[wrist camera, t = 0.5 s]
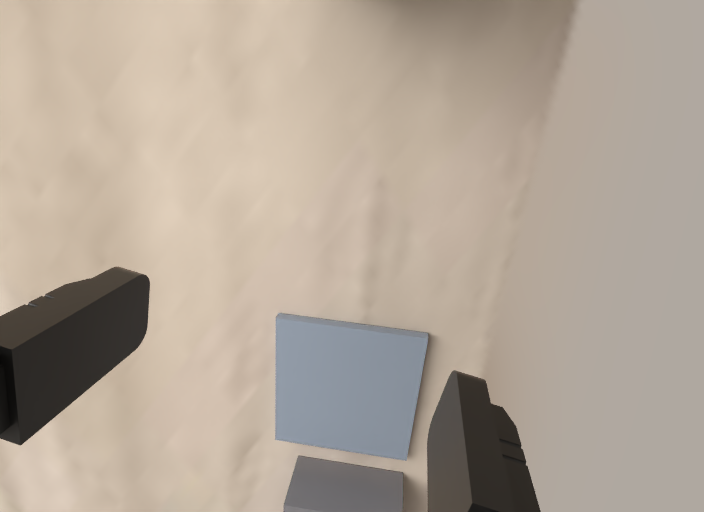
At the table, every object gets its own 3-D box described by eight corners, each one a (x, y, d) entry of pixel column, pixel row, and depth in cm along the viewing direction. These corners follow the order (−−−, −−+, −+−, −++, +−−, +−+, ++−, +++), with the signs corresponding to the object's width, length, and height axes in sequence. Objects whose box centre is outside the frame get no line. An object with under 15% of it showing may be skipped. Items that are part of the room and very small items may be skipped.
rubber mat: (278, 313, 33) (275, 318, 32) (427, 333, 32) (428, 338, 31) (278, 432, 38) (275, 439, 37) (406, 453, 37) (406, 460, 36)
